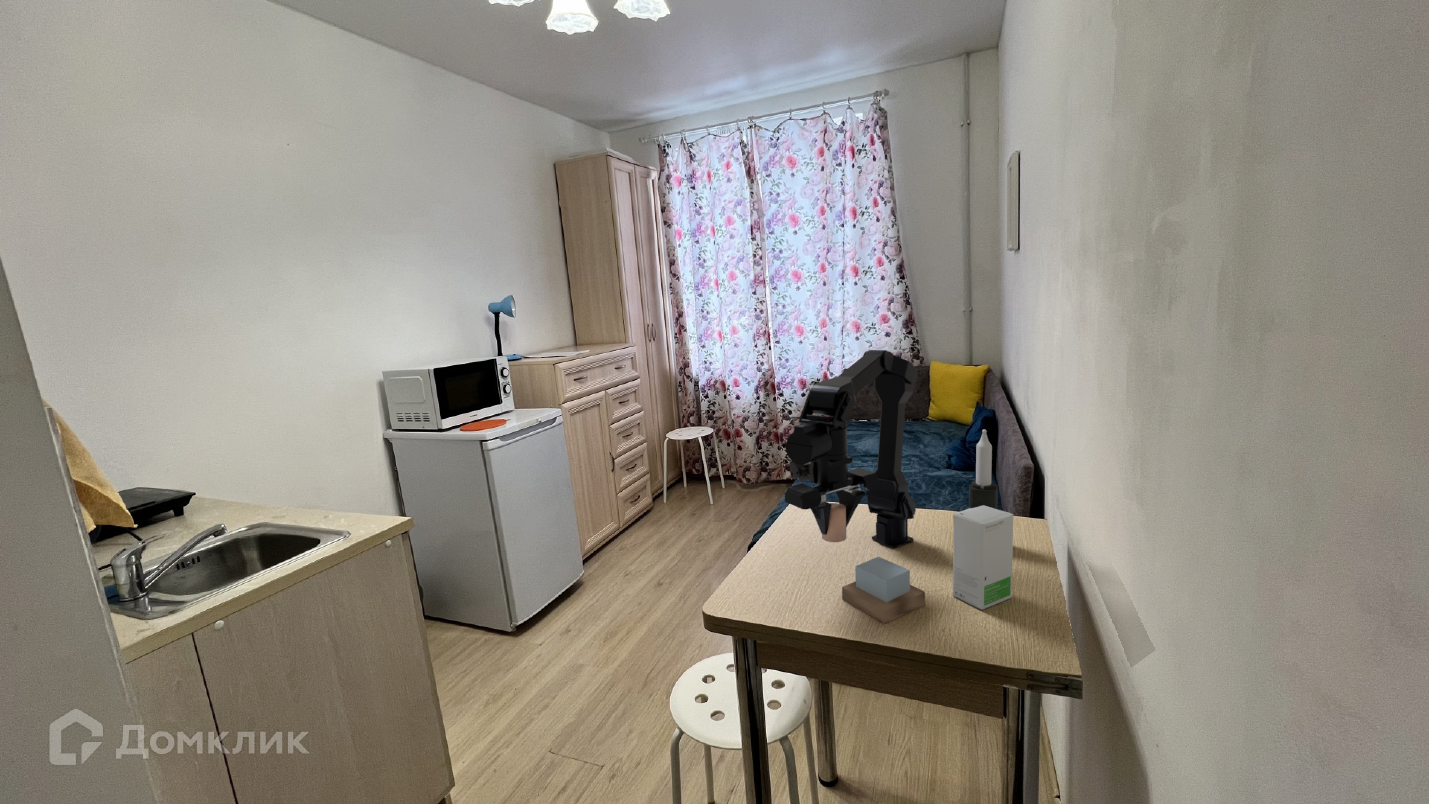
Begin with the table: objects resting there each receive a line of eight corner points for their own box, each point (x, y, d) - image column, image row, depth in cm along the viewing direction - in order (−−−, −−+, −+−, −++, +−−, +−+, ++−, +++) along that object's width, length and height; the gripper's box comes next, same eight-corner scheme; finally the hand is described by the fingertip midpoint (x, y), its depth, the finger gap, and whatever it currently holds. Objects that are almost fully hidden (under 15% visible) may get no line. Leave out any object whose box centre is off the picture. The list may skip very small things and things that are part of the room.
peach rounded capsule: (835, 530, 114) (834, 501, 113) (851, 537, 110) (850, 507, 109) (816, 536, 112) (815, 506, 111) (833, 544, 108) (832, 513, 107)
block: (878, 576, 108) (878, 556, 108) (909, 591, 102) (909, 569, 102) (855, 587, 105) (855, 566, 104) (886, 602, 99) (886, 580, 99)
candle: (997, 541, 125) (999, 427, 121) (994, 550, 121) (996, 433, 117) (971, 537, 128) (973, 425, 123) (967, 546, 124) (968, 431, 119)
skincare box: (981, 611, 99) (982, 524, 96) (949, 595, 105) (950, 513, 102) (1013, 597, 103) (1016, 513, 100) (981, 582, 109) (982, 502, 106)
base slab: (881, 583, 111) (881, 570, 110) (924, 604, 102) (924, 591, 102) (842, 599, 106) (842, 586, 106) (884, 624, 97) (884, 610, 97)
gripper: (839, 435, 120) (841, 507, 123) (765, 452, 111) (769, 530, 113) (880, 445, 110) (881, 523, 113) (802, 464, 101) (806, 549, 104)
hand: (833, 530), depth 111 cm, fingers closed on peach rounded capsule, 5 cm apart
